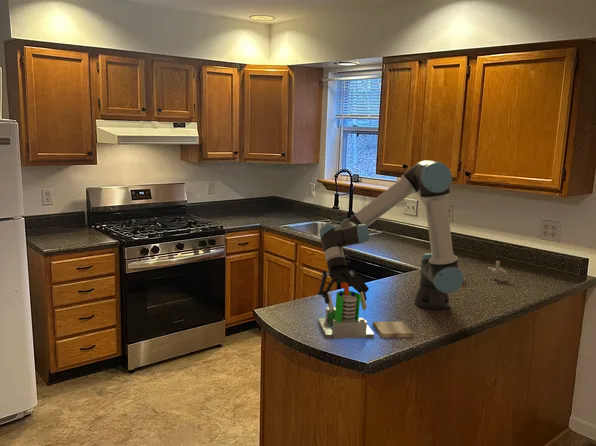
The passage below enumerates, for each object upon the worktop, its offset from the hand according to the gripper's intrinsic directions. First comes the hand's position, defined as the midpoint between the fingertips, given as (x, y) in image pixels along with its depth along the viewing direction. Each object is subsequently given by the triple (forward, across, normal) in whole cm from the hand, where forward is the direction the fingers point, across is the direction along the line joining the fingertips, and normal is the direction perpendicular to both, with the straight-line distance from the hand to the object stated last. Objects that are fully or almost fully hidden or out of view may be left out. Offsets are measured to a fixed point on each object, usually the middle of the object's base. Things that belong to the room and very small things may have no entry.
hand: (348, 310), depth 197 cm
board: (+8, -17, -4) cm, 20 cm away
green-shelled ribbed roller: (+5, 0, -8) cm, 9 cm away
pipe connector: (-30, -107, -43) cm, 119 cm away
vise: (+3, 0, -9) cm, 10 cm away
